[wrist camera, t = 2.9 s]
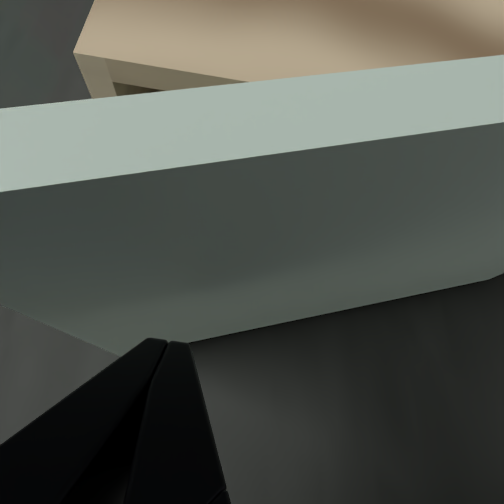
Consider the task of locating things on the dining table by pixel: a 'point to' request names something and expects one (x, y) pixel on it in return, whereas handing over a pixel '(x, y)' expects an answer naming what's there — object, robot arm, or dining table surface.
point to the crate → (273, 39)
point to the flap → (251, 200)
